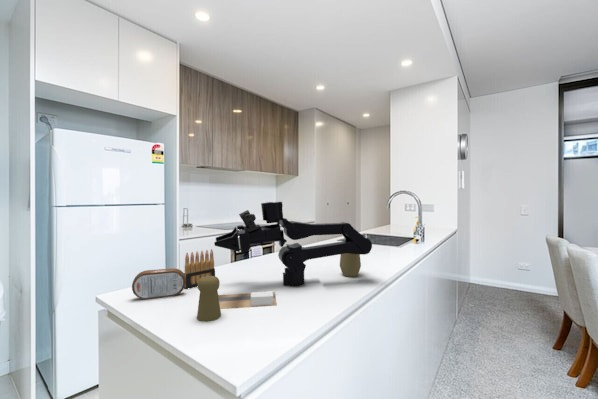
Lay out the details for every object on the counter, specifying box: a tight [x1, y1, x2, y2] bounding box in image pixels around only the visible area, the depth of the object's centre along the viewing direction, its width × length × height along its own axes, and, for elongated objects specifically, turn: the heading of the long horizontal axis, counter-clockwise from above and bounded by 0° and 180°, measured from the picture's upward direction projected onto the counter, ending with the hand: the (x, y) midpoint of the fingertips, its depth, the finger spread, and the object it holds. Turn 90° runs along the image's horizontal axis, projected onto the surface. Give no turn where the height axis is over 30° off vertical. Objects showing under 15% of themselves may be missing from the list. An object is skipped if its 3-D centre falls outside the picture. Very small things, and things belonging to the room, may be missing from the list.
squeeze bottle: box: [339, 237, 362, 278], centre depth 111 cm, size 8×8×18 cm
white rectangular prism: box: [250, 290, 274, 307], centre depth 80 cm, size 6×4×2 cm, turn 98°
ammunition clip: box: [183, 249, 216, 290], centre depth 100 cm, size 11×2×12 cm, turn 133°
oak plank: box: [218, 291, 278, 310], centre depth 82 cm, size 20×11×1 cm, turn 98°
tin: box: [131, 267, 186, 300], centre depth 89 cm, size 15×3×8 cm, turn 110°
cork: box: [196, 275, 222, 323], centre depth 71 cm, size 6×6×11 cm
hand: (215, 241), depth 90 cm, fingers open, 9 cm apart
